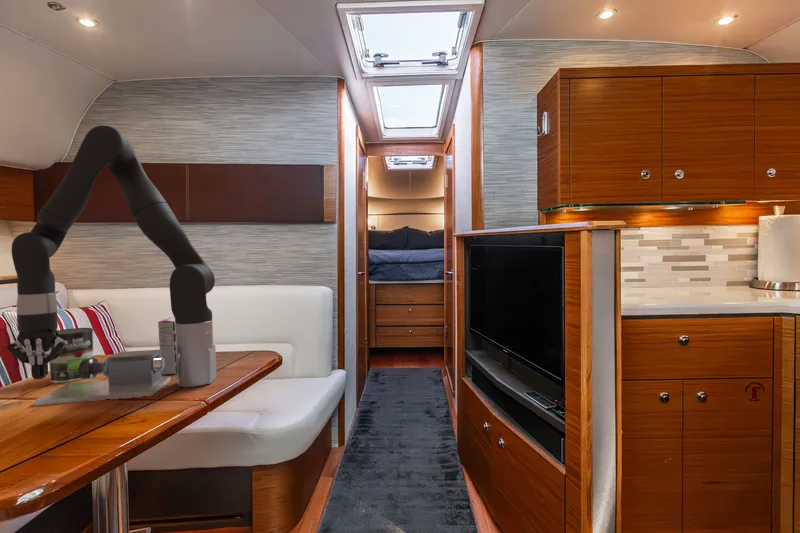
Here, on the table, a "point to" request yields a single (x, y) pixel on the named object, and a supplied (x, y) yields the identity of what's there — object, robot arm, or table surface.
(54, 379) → the coffee can
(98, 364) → the shaft
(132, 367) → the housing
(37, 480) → the table surface
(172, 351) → the candy bar box
